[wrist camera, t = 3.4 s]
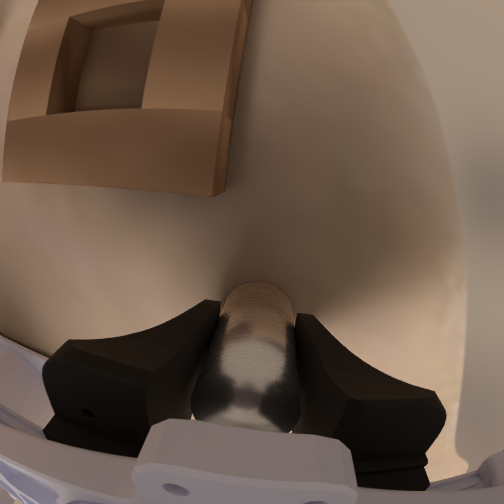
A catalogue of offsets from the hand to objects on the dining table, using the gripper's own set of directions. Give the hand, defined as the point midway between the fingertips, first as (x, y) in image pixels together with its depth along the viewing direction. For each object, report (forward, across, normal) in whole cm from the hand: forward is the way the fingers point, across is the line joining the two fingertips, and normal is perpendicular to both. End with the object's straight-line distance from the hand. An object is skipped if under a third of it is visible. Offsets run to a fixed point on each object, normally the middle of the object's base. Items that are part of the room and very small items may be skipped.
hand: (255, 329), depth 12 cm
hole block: (+1, +7, -10) cm, 12 cm away
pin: (+1, 0, 0) cm, 1 cm away
